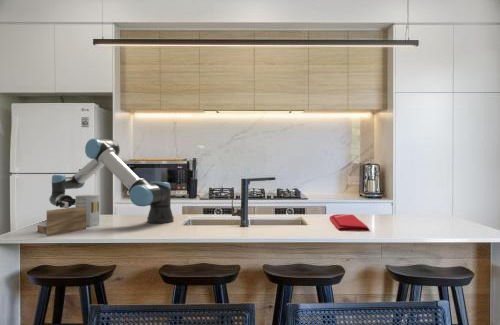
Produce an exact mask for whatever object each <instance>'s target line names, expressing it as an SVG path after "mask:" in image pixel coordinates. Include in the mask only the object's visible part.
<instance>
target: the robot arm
mask: <svg viewBox="0 0 500 325" xmlns="http://www.w3.org/2000/svg"><path fill="white" fill-rule="evenodd" d="M84 148H85V150H84V153H85V154H86V157H87V158H89V159H90V161H88V162H87V163H86V165H84V166H83V167H82V168H81V169H80V170H78V171H77V172H76V173H75V174H74V175H73V176H68V177H67V176H66V175H65V174H52V176H51V195H50V196H49V198H48V199H49V202H50V204H51V205H53V206H56V207H59V209H64V208H72V206H76V198H73V197H72V196H71V195H69V194H68V195H67V194H66V190H71V189H82V188H84V186H85V183H86V181H88V180H89V179H90V178H91V177H92V176H94V175H95V174H96V173H98V171H99V170H101V169H102V168H103V167H104V166H105V167H106V168H107V169H108V170H109V171H110V172H111V173H112V174H113V175H114V176H115V177H116V178H117V180H119V181H120V182H121V183H122V184H123V185H124V187H126V188H127V189H128V191H127V192H128V194H129V198H130V201H131V203H132V204H133V205H135V206H136V207H148V206H150V208H149V212H148V216H147V217H146V218H147V220H146V222H147V223H149V224H164V223H166V224H167V223H173V222H174V216H173V212H172V208H171V206H172V205H171V204H172V203H171V197H172V196H171V195H172V194H171V193H172V192H171V190H172V189H171V183H170V182H166V181H164V182H163V181H150V183H149V182H148V181H147V179H145V178H140V177H139V176H138V175H137V174H136V173H135V172H134V171H133V170H132V169H131V168H130V167H129V166H128V165H127V164H126V163H125V162H124V161H123V160H122V159H121V158H120V157H119V154H120V151H121V150H120V149H121V148H120V145H119V143H118V142H117V141H116V140H115V139H110V138H98V137H96V138H91V139H88V140H87V142H86V143H85V147H84Z"/></svg>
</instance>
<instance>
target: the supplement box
mask: <svg viewBox="0 0 500 325" xmlns="http://www.w3.org/2000/svg"><path fill="white" fill-rule="evenodd" d="M75 199H76V203H75V204H76V205H75V207H82V206H86V228H87V227H88V228H90V227H91V228H92V227H94V226H100V194H79V195H75Z"/></svg>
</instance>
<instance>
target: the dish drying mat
mask: <svg viewBox="0 0 500 325" xmlns="http://www.w3.org/2000/svg"><path fill="white" fill-rule="evenodd" d="M329 221H330V222H331V223H332V224H333V226H334V227H335V228H336V229H337V230H338V231H340V232H341V231H343V232H346V231H347V232H349V231H351V232H369V231H370V228H369V227H368V226H367V224H365V223H364V222H363V221H361V220H360V219H359V218H358V217H357V216H356V215H354V214H347V213H346V214H338V213H337V214H332V215H331V216H329Z"/></svg>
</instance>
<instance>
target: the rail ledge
mask: <svg viewBox="0 0 500 325" xmlns="http://www.w3.org/2000/svg"><path fill="white" fill-rule="evenodd" d="M84 230H87V227H86V206H82V207H76V206H74V207H69V208H59V209H50V210H49V209H47V210H46V225H37V232H38V233H43V232H45V233H44V234H46V236H47V237H49V236H54V235H60V234H61V235H62V234H66V233H67V234H68V233H72V232H77V231H84Z"/></svg>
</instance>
